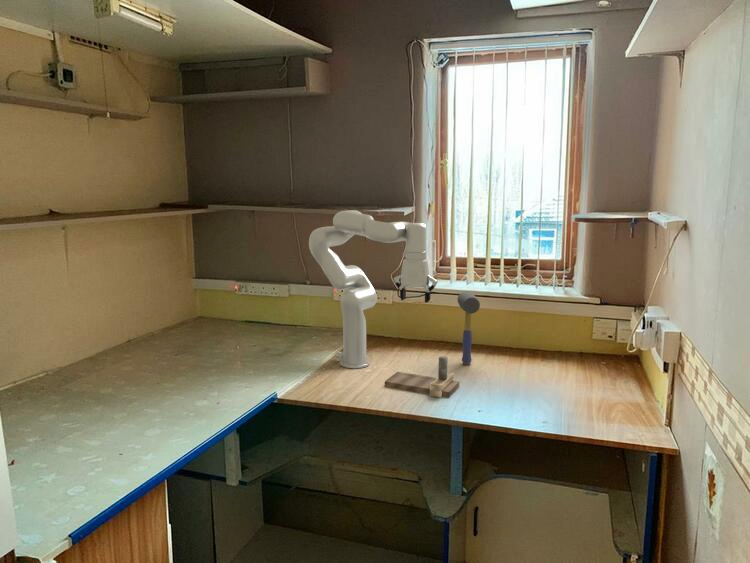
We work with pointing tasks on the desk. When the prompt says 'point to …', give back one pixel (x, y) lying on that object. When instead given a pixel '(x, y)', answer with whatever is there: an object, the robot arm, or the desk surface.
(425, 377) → the walnut board
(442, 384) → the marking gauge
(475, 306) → the rubber mallet
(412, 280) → the robot arm
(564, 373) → the desk surface
